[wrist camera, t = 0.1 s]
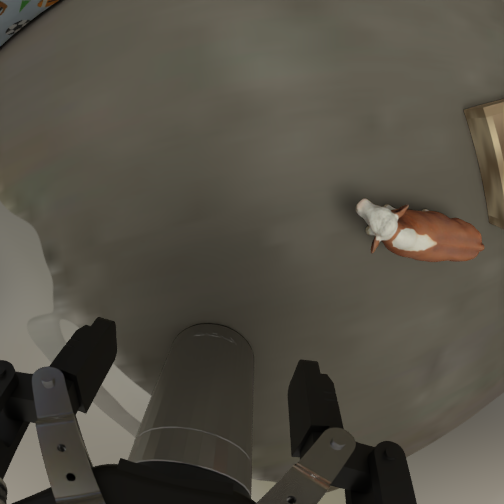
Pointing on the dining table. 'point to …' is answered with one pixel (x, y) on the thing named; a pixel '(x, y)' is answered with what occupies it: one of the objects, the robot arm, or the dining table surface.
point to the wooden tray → (490, 154)
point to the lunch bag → (19, 15)
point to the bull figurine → (420, 233)
